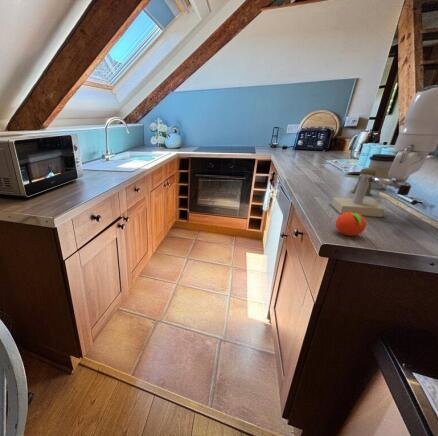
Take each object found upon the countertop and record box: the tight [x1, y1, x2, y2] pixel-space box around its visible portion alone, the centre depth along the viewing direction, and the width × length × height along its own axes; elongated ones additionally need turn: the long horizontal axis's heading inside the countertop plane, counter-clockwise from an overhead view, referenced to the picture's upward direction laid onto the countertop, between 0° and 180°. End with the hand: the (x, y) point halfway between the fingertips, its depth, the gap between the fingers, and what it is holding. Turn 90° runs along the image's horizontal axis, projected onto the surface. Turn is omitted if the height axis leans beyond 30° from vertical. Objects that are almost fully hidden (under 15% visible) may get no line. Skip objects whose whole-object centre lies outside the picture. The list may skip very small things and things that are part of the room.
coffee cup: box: [368, 153, 396, 190], centre depth 113 cm, size 9×9×15 cm
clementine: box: [335, 212, 367, 237], centre depth 70 cm, size 8×7×7 cm
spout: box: [357, 173, 412, 196], centre depth 81 cm, size 14×4×4 cm, turn 22°
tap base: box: [330, 181, 386, 218], centre depth 87 cm, size 12×10×11 cm
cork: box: [352, 167, 376, 196], centre depth 106 cm, size 6×6×11 cm
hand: (398, 188), depth 79 cm, fingers closed
